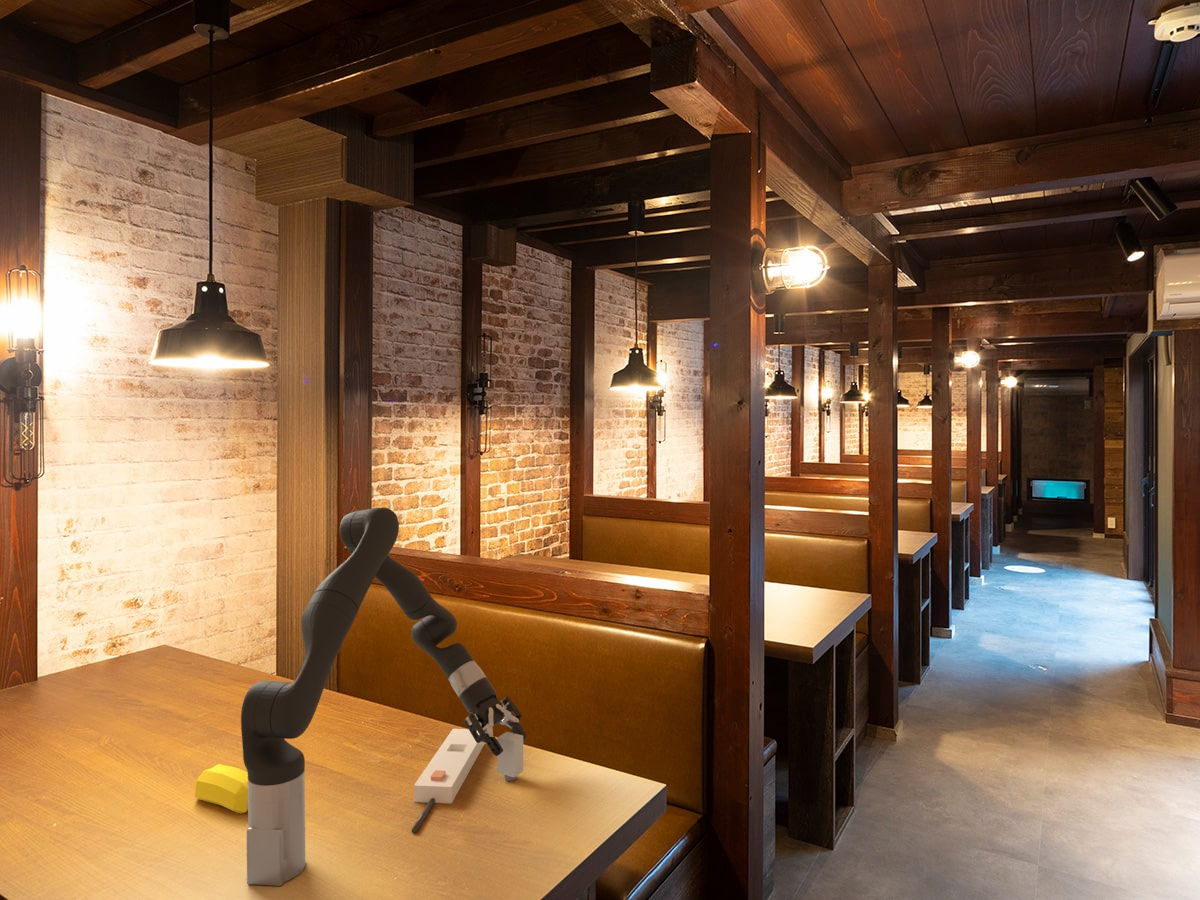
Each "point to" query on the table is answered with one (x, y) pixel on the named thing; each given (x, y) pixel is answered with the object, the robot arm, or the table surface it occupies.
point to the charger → (510, 755)
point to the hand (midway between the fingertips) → (512, 746)
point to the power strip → (446, 771)
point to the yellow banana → (224, 787)
